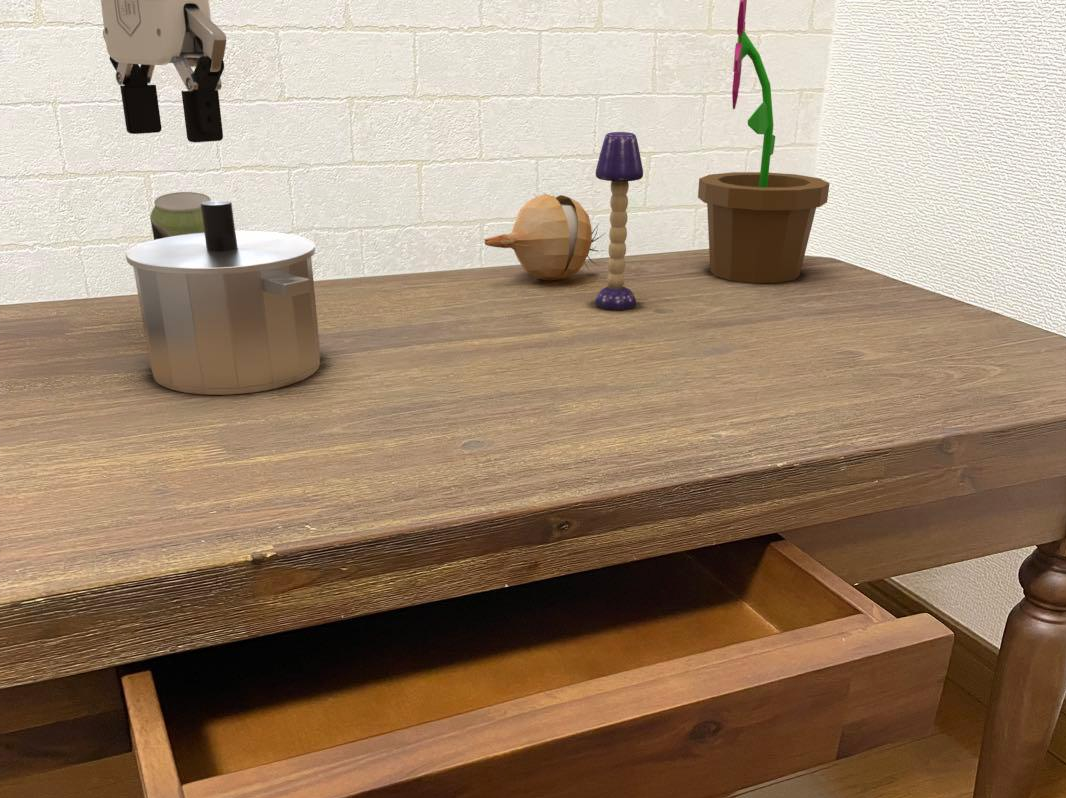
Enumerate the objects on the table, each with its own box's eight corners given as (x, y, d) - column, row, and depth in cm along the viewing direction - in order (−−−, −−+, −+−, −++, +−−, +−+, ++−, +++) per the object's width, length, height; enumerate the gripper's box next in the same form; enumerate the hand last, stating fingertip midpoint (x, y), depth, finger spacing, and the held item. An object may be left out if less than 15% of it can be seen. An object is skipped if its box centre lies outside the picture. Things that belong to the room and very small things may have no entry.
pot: (235, 415, 78) (218, 288, 73) (105, 364, 89) (83, 250, 84) (373, 373, 87) (365, 257, 83) (240, 331, 98) (227, 227, 94)
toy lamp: (642, 310, 105) (651, 135, 98) (598, 313, 105) (603, 136, 97) (629, 299, 110) (636, 130, 102) (586, 301, 109) (590, 130, 101)
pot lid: (195, 292, 75) (186, 227, 73) (92, 263, 83) (81, 203, 81) (353, 260, 84) (348, 201, 82) (246, 237, 93) (240, 183, 91)
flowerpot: (696, 257, 128) (716, -19, 115) (815, 263, 126) (850, -18, 112) (688, 283, 116) (709, -22, 102) (820, 290, 113) (860, -22, 100)
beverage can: (227, 311, 104) (210, 186, 99) (241, 330, 98) (225, 198, 93) (161, 318, 102) (141, 190, 96) (173, 337, 96) (151, 202, 90)
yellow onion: (631, 204, 114) (512, 177, 107) (617, 290, 116) (499, 270, 108) (586, 206, 122) (472, 181, 114) (574, 286, 124) (461, 267, 116)
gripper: (49, -87, 87) (85, 132, 94) (161, -99, 77) (191, 147, 84) (131, -79, 92) (159, 128, 100) (247, -89, 82) (268, 142, 90)
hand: (174, 136), depth 92 cm, fingers open, 9 cm apart
